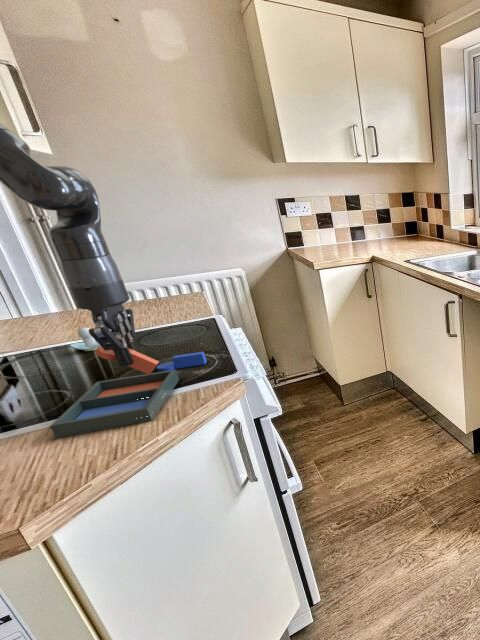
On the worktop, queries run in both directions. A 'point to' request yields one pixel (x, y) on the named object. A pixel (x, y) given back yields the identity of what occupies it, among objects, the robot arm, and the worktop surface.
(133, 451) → the worktop surface
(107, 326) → the robot arm
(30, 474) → the worktop surface
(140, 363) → the red long piece
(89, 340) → the pacifier
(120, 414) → the sorting tray
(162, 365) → the blue spoon
